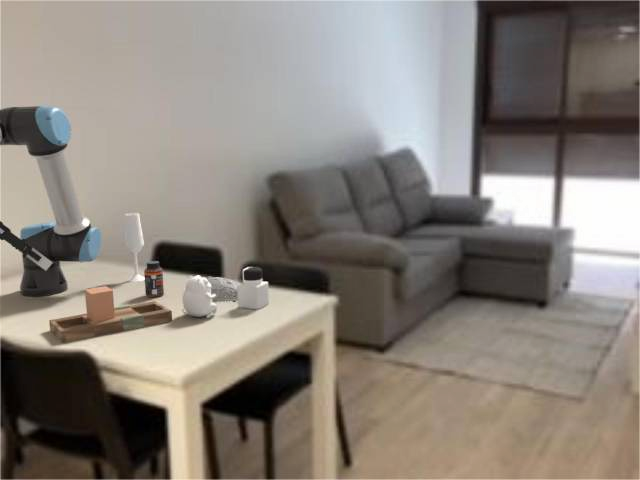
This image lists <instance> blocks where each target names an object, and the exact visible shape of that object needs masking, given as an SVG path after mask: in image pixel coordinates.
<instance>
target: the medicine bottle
mask: <svg viewBox="0 0 640 480" xmlns="http://www.w3.org/2000/svg"><path fill="white" fill-rule="evenodd" d="M237 288H238V302H237V306H238V308H241V309H249V310H250V309H251V310H259V309H261V308H264V307H265V306H267V305H268V304H270V300H269V297H270V296H269V295H270V293H269V281H264V279H263V269H262V267H258V266H247V267H246V268H243V269H242V283H239V285H238V286H237Z"/></svg>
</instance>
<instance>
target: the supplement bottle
mask: <svg viewBox="0 0 640 480" xmlns="http://www.w3.org/2000/svg"><path fill="white" fill-rule="evenodd" d="M143 271H144V277H145V280H144V285H145V287H144V288H145V289H144V292H145V296H146V297H149V298H158V297H162V296H163V295H164V294H165V293H164V291H165V290H164V272H163V268H162V267H161V266H160V262H159V261H157V260H151V261H147V262H146V268H145V269H144V270H143Z"/></svg>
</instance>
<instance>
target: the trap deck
mask: <svg viewBox="0 0 640 480" xmlns="http://www.w3.org/2000/svg"><path fill="white" fill-rule="evenodd" d="M114 312H115V318H112V319H107V320H102V321H96V322H93V321H92V320H90V319H89V318H88V317H87V313H81V314H77V315H70V316H65V317H60V318H55V319H50V320H49V330H50V332H51V333H52V334H53V335H54V336H55V337H56V338H57V339H58V340H59V341H60V342H61V343H62V344H63V343H64V344H65V343H68V342H73V341H78V340H84V339H89V338H93V337H94V338H95V337H98V336H102V335H109V334H113V333H119V332H123V331H129V330H135V329H139V328H144V327H147V326H153V325H159V324H162V323H168V322H172V321H173V311H172V310H171V309H170V308H168V307H166V306H164V305H163V304H161V303H159V302H157V301H154V300H153V301H148V302H143V303H137V304H131V305H128V304H125V305H122V306H121V305H120V306H114Z"/></svg>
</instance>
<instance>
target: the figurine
mask: <svg viewBox="0 0 640 480" xmlns="http://www.w3.org/2000/svg"><path fill="white" fill-rule="evenodd" d="M215 297H217V296H216V295H215V294H211V284H210V283H209V282H208V280H207V277H203V276H201V275H199V274H197V275H195V276H193V275H189V279H188V280H187V282H186V283H185V290H184V292H183V294H182V304H183V305H182V307H183V309H181V312H182V314H185V315H190V316H192V317H196V318H197V317H198V318H200V317H204V316H208V315H210V314H211V313H212V315H216V313H217V309H218V306H217V304H216V303H213V301H212V299H213V298H215ZM184 310H185V311H184Z"/></svg>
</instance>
